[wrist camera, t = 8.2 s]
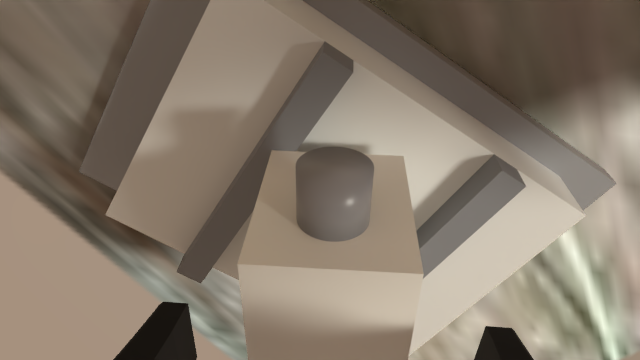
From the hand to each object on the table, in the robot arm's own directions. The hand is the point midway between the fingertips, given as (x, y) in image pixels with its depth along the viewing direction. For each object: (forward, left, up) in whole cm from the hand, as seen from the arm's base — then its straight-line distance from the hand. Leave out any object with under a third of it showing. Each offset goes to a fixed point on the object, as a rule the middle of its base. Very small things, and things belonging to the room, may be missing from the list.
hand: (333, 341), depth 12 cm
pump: (0, 0, -5) cm, 5 cm away
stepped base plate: (0, +1, -9) cm, 9 cm away
